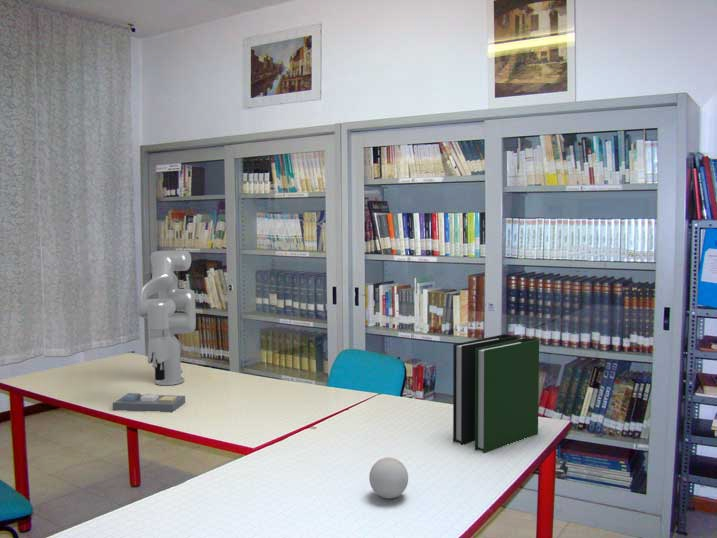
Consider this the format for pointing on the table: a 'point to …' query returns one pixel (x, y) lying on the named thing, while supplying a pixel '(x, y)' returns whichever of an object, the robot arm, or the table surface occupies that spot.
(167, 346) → the robot arm
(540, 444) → the table surface
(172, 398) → the tan key
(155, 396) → the ivory key
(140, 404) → the keypad
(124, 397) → the slate key
